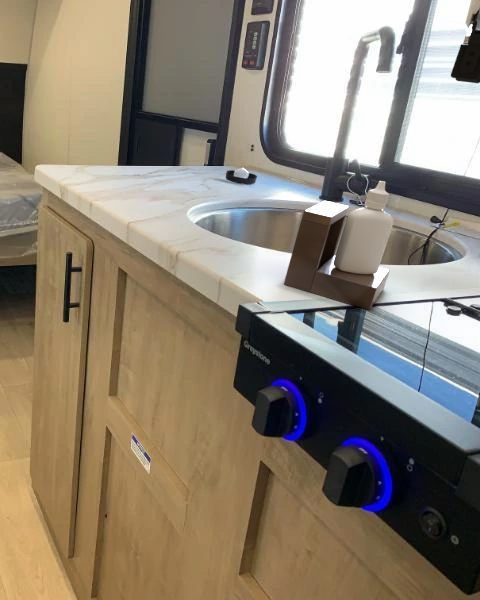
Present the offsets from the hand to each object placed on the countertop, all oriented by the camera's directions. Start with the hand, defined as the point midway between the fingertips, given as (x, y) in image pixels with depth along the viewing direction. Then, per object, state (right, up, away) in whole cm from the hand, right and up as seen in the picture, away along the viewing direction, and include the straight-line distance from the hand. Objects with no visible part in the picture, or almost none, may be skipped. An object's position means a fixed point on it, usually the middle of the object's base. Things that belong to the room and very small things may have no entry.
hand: (465, 80), depth 81 cm
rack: (-17, -28, +1) cm, 33 cm away
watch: (-12, 0, +71) cm, 72 cm away
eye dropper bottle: (-16, -26, -1) cm, 30 cm away
